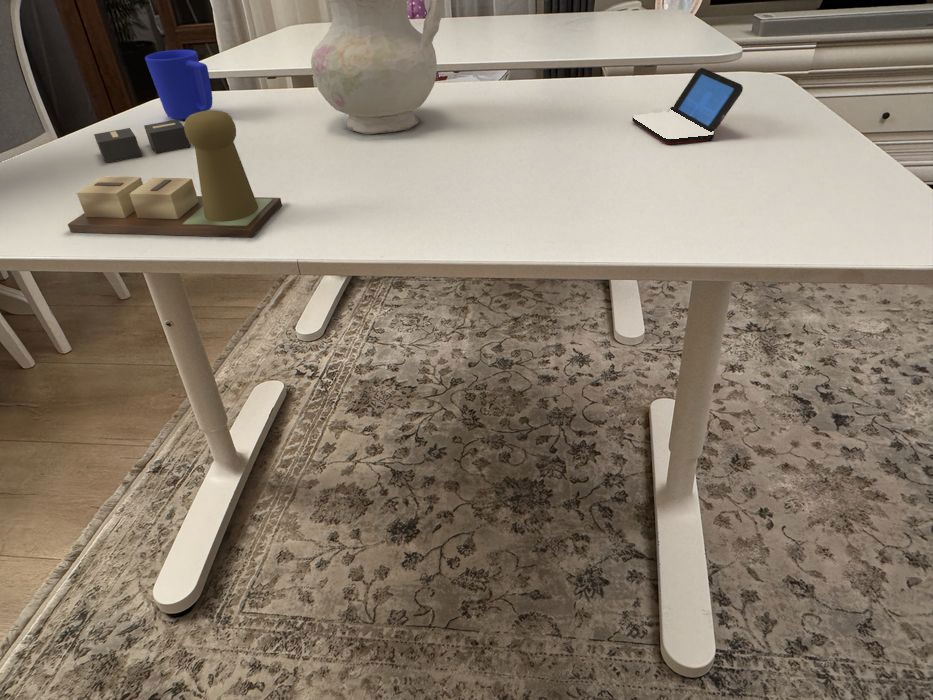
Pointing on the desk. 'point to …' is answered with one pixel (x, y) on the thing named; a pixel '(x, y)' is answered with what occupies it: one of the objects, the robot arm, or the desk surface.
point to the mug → (180, 82)
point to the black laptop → (703, 103)
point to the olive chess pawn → (219, 166)
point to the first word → (126, 144)
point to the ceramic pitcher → (376, 63)
